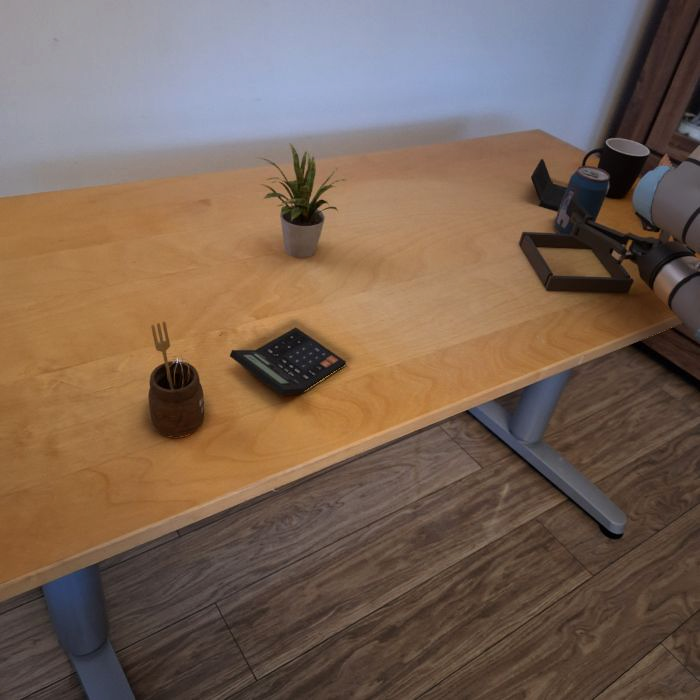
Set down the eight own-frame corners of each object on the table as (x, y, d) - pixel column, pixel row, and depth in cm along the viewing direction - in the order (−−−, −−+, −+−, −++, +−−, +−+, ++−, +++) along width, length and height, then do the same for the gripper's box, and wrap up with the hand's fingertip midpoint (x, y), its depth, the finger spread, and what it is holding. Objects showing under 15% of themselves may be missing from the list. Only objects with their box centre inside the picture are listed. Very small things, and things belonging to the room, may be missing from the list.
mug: (629, 188, 137) (649, 144, 130) (630, 205, 130) (651, 159, 123) (575, 175, 139) (591, 131, 132) (573, 191, 132) (590, 145, 125)
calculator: (345, 366, 81) (347, 349, 79) (280, 409, 74) (281, 391, 72) (295, 331, 86) (296, 314, 84) (229, 369, 79) (229, 351, 77)
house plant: (239, 231, 104) (239, 136, 94) (314, 219, 110) (321, 129, 100) (271, 276, 95) (274, 177, 85) (350, 261, 101) (362, 167, 90)
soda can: (593, 231, 119) (617, 173, 111) (582, 245, 114) (607, 185, 106) (559, 219, 121) (580, 160, 114) (547, 231, 117) (568, 172, 109)
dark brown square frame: (593, 246, 114) (598, 234, 113) (628, 292, 103) (634, 280, 102) (518, 243, 112) (522, 231, 110) (546, 290, 101) (551, 277, 99)
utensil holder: (164, 447, 68) (154, 366, 60) (142, 411, 72) (130, 331, 64) (214, 427, 71) (210, 348, 63) (190, 393, 74) (184, 314, 67)
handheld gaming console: (581, 208, 122) (563, 162, 119) (545, 223, 125) (527, 178, 122) (578, 192, 132) (561, 149, 128) (544, 206, 135) (527, 164, 132)
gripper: (759, 252, 92) (676, 187, 108) (610, 254, 87) (547, 185, 102) (733, 294, 97) (658, 225, 113) (591, 297, 92) (533, 225, 107)
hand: (605, 206), depth 107 cm, fingers open, 13 cm apart
